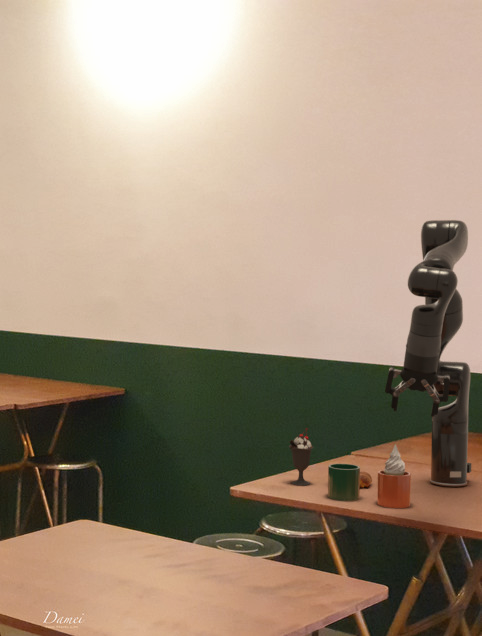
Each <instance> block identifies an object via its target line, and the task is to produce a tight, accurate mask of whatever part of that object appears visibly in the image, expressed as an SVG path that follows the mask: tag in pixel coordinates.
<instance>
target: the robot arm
mask: <svg viewBox="0 0 482 636" xmlns="http://www.w3.org/2000/svg"><path fill="white" fill-rule="evenodd" d="M468 244H469V230H468V226H467V224H466V223H465V222H464V221H462V220H457V219H436V220H433V219H432V220H426V221H424V222H423V224H422V226H421V228H420V245H421V256H422V261H421V262H418V263H417V264H416V265H415V266H414V267H413V268H412V269H411V271H410V273H409V275H408V278H407V288H408V289H409V292H410V293H411V294H412V295H414V296H416V297H421V298H424V304H419V305H415V306H414V307H413V308H412V311H411V318H410V319H411V320H410V326H409V331H408V335H407V339H406V344H405V353H404V361H403V367H402V369H396V368H395V367H394V366H390V367H389V369H388V374H387V379H386V383H385V389H384V392H385V393H386V394H389V395H391V405H390V407H391V409H393V412H397V410H398V406H399V405H398V403H399V397H400V394H402V393H404V392H406V390H407V389H409V390H410V391H419V392H423V393H424V392H427V394H428V395H429V396H430V397H431V399H432V405H431V412H430V417H431V445H430V446H431V448H430V451H431V452H430V459H431V460H430V480H429V482H430V483H431V484H433V485H435V486H440V487H450V488H457V487H458V488H459V487H465V486H467V485H468V481H467V479H468V474H470V473H471V472H472V462H468V449H469V448H468V445H469V443H468V441H469V399H470V387H471V367H470V365H469V363H467V362H463V361H445V360H444V361H443V360H441V357H442V354H443V352H444V350H445V349H446V348H447V346H448V344H449V343H450V342H451V341H452V340H453V338H454V337H455V336H456V335H457V333H458V332H459V330H460V329H461V327H462V326H463V322H464V307H463V305H464V304H463V297H462V296H461V294H460V292H459V290H458V289H457V287H458V283H459V281H458V276H457V274H456V272H455V271H454V269H455V265H456V264H457V263H458V262H459V261H460V260H461V258H462V257H463V256H465V253H466V252H467V250H468ZM398 376H400V378H401V380H402V381H401V382H400V383H399V384H398V385H397V386H395V387H393V380H394V379H397V378H398ZM449 396H450V397H455V400H454V401H453V402H451V403H449V404H447V405H443V406H440V403H443V402H444V403H447V402H448V401H449Z"/></svg>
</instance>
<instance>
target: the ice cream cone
mask: <svg viewBox="0 0 482 636" xmlns="http://www.w3.org/2000/svg"><path fill="white" fill-rule="evenodd" d="M401 457H402V456H401V453H400V451H399V449H398V446H397V443H395V444H394V446H393V448H392V451H391V452H390V453H389V457H388V458H387V460H386V461H385V462H384V469H383V470H384V472H385V475H393V476H403V475H404V473H405V472H404V471H406V463H405V461H404V460H403V459H402V458H401Z"/></svg>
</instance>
